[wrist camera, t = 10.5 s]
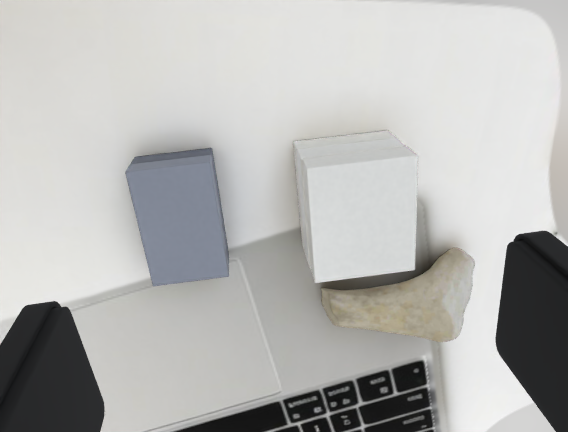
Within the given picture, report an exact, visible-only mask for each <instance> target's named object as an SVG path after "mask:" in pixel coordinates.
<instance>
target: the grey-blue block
mask: <svg viewBox="0 0 568 432" xmlns="http://www.w3.org/2000/svg"><path fill="white" fill-rule="evenodd" d="M125 173H126V177H127V181H128V185H129V189H130V193H131V197H132V202H133V206H134V210H135V214H136V218H137V222H138V226H139V230H140V234H141V239H142V243H143V247H144V251H145V255H146V259H147V263H148V267H149V272H150V276H151V280H152V284H153V286H159V285H167V284H175V283H182V282H190V281H198V280H205V279H213V278H221V277H228V276H229V252H228V246H227V239H226V233H225V227H224V221H223V214H222V208H221V202H220V195H219V189H218V183H217V177H216V170H215V164H214V158H213V152H212V148H207V149H199V150H190V151H181V152H173V153H164V154H156V155H147V156H139V157H134V159H133V161H132V162H131V164H130V165H129V167H128V169H127V170H126V172H125Z"/></svg>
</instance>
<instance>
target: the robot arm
mask: <svg viewBox="0 0 568 432" xmlns="http://www.w3.org/2000/svg"><path fill="white" fill-rule="evenodd" d="M496 347H497V350H498V352H499V354H500V356H501V357H502V359H503V360H504V362H505V363H506V364H507V366H508V367H509V368H510V370H511V371H512V372H513V374H514V375H515V377H516V378H517V379H518V381H519V382H520V383H521V385H522V386H523V387H524V389H525V390H526V392H527V393H528V394H529V396H530V397H531V398H532V400H533V401H534V402H535V404H536V405H537V407H538V408H539V409H540V411H541V412H542V413H543V415H544V416H545V417H546V419H547V420H548V422H549V423H550V424H551V426H552V427H553V428H554V430H555V431H556V432H568V246H566V245H565V244H564V243H562V242H561V241H560V240H559V239H557V238H556V237H555V236H553V235H552V234H551V233H549V232H547V231H538V232H531V233H524V234H519V235H517V236H516V237H515V239H514V242H511V243H509V244H508V246H507V251H506V259H505V267H504V275H503V283H502V291H501V299H500V307H499V315H498V323H497V331H496ZM103 419H104V402H103V398H102V396H101V393H100V390H99V387H98V385H97V382H96V379H95V377H94V374H93V371H92V368H91V366H90V363H89V360H88V358H87V355H86V352H85V349H84V347H83V344H82V341H81V339H80V336H79V333H78V330H77V328H76V325H75V322H74V320H73V317H72V314H71V312H70V310H69V309H68V307H61V306H60V304H59V303H58V302H55V301H53V302H46V303H39V304H32V305H27V306H25V307H24V308H23V309H22V310H21V312H20V314H19V315H18V317H17V319H16V320H15V322H14V323H13V325H12V327H11V328H10V330H9V332H8V333H7V335H6V336H5V338H4V340H3V341H2V343H1V345H0V432H100V430H101V426H102V423H103Z"/></svg>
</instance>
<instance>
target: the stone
mask: <svg viewBox="0 0 568 432" xmlns="http://www.w3.org/2000/svg"><path fill="white" fill-rule="evenodd" d="M474 266H475V262H474V259H473V258H472V257H471V256H470V255H469V254H467V253H466V252H464V251H463V250H462V249H459V248H452V249H450V250H448V251H447V252H446V253H445V254H443V255H442V256H440V257H439V258H438V259H437V260H436V262H435V263H434V264H433V265H432V267H431V268H430V269H429V270H428V271H426V272H425V273H423V274H422V275H420V276H418V277H415V278H413V279H410V280H408V281H405V282H401V283H397V284H391V285H385V286H379V287H372V288H367V289H357V290H334V289H327V288H321V291H322V300H321V302H322V305H323V307H324V309H325V311H326V313H327V316H328V317H329V319H330V320H331V321H332V324H334V325H335V326H339V327H347V328H359V329H369V330H376V331H381V332H390V333H395V334H403V335H411V336H417V337H421V338H426V339H429V340H433V341H437V342H447V341H451V340H453V339H456V338H457V337H458V336H459V334H460V332H461V329H462V326H463V314H464V311H465V308H466V306H467V304H468V302H469V299H470V295H471V290H472V273H473V269H474Z"/></svg>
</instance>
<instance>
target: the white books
mask: <svg viewBox="0 0 568 432" xmlns="http://www.w3.org/2000/svg"><path fill="white" fill-rule="evenodd" d="M293 144H294V156H295V168H296V180H297V191H298V203H299V215H300V227H301V238H302V245H303V248H304V252H305V255H306V258H307V262H308V265H309V267H310V254H309V241H308V228H307V215H306V202H305V189H304V176H303V163H302V160H303V159H305V158H314V157H322V156H331V155H339V154H348V153H356V152H365V151H373V150H382V149H390V148H399V147H406V145H405V144H404V143H402V142H401V141H400V140H399V139H398V138H397V137H396V136H395V135H394V134H392V133H391V132H390V131H389V130H386V131H377V132H369V133H360V134H352V135H343V136H335V137H326V138H317V139H309V140H300V141H294V142H293ZM310 268H311V267H310Z"/></svg>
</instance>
